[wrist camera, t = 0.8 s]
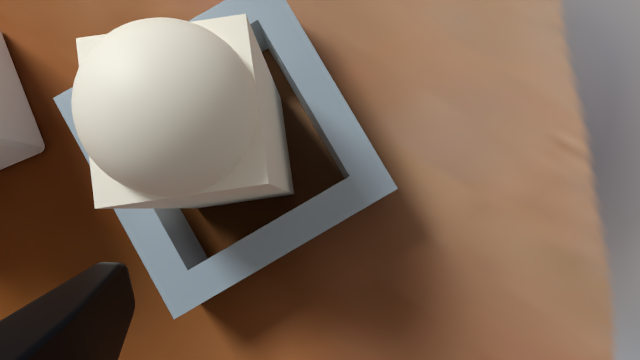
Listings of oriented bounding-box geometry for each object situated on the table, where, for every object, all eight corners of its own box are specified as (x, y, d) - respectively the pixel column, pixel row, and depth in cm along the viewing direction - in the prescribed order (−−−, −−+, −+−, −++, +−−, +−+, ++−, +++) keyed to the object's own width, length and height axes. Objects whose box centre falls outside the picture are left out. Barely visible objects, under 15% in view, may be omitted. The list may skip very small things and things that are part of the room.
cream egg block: (294, 194, 23) (254, 177, 10) (197, 208, 23) (37, 208, 10) (280, 98, 23) (226, -34, 10) (185, 112, 23) (15, -2, 10)
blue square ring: (197, 302, 22) (174, 319, 19) (94, 114, 23) (52, 98, 19) (386, 191, 22) (397, 188, 19) (278, 9, 23) (270, -26, 20)
